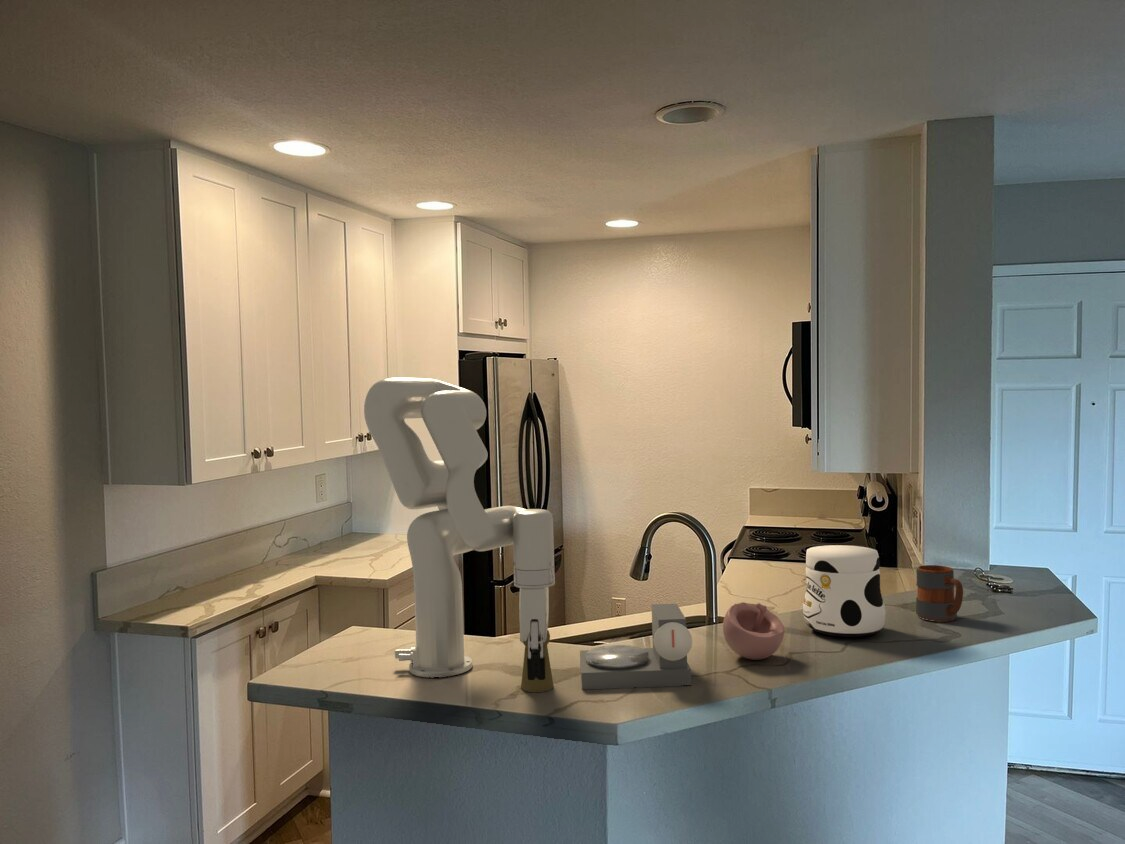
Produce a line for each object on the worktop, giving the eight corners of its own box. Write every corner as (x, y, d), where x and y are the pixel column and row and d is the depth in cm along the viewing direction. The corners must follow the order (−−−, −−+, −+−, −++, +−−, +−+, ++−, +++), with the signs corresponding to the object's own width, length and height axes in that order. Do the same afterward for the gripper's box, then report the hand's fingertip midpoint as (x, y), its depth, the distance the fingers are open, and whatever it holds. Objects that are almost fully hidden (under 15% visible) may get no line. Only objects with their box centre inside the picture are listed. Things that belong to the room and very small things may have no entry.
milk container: (787, 631, 182) (785, 551, 182) (833, 617, 193) (831, 541, 192) (856, 647, 168) (854, 561, 168) (901, 631, 179) (899, 550, 179)
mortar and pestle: (755, 671, 155) (753, 611, 155) (711, 657, 165) (709, 601, 165) (797, 659, 162) (796, 602, 162) (753, 646, 172) (751, 592, 172)
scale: (581, 689, 148) (579, 623, 148) (580, 665, 162) (578, 605, 162) (694, 685, 148) (692, 620, 148) (682, 662, 162) (680, 602, 162)
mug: (948, 628, 180) (946, 575, 180) (907, 616, 192) (906, 566, 191) (977, 623, 183) (976, 571, 183) (936, 612, 194) (935, 563, 194)
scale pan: (586, 670, 149) (586, 664, 149) (584, 651, 161) (584, 646, 161) (651, 667, 149) (651, 662, 149) (645, 649, 161) (645, 644, 161)
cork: (524, 693, 147) (523, 633, 147) (517, 683, 153) (516, 624, 153) (557, 690, 148) (555, 630, 148) (549, 679, 154) (547, 621, 154)
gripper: (516, 568, 159) (519, 661, 159) (511, 587, 142) (513, 691, 142) (555, 567, 159) (557, 660, 159) (554, 586, 142) (556, 690, 142)
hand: (536, 674), depth 151 cm, fingers closed on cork, 4 cm apart
